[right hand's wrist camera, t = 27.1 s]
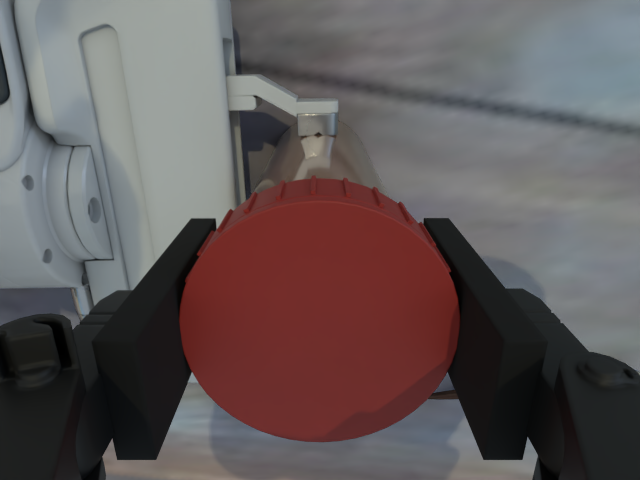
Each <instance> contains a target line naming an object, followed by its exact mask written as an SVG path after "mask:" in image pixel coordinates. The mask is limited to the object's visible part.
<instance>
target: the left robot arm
mask: <svg viewBox="0 0 640 480" xmlns="http://www.w3.org/2000/svg"><path fill="white" fill-rule="evenodd" d="M262 99H263V100H265V101H267V102H269V103H271V104H273V105H275V106H276V107H278V108H280V109H282V110H284V111H286V112H287V113H289V114H291V115H293V116H295V117H297V119H298V136H313V135H315V134H317V133H318V132H319V133H320V134H322V135H327V136H333V135H338V99H335V98H307V99H298V95H296V94H294V93H292V92H291V91H289V90H287V89H285V88H284V87H282V86H280V85H278V84H277V83H275V82H273V81H271V80H270V79H268V78H266V77H264V76H263V75H261V74H246V75H236V65H235V53H234V41H233V28H232V16H231V4H230V0H0V289H2V288H66V287H70V290H71V294H72V298H73V302H74V306H75V309H76V312H77V314H78V316H79V319H80V321H81V320H82V319H83V318H84V317H85V316H86V315H89V312H90V311H91V309H92V308H93V307H94V306H95V305H96V304H97V303H98V302H99V301H100V300H101V299H103V298H105V297H107V296H108V295H110V294H112V293H113V292H115V291H117V290H133V289H134V288H135V287H136V286H137V285H138V283H139V282H140V281H141V280H142V278H143V277H144V276H145V275H146V273H147V272H148V271H149V270H150V268H151V267H152V266H153V265H154V264H155V262H156V261H157V260H158V259H159V257H160V256H161V255H162V254H163V252H164V251H165V250H166V249H167V247H168V246H169V245H170V244H171V243H172V241H173V240H174V239H175V238H176V236H177V235H178V234H179V233H180V231H181V230H182V229H183V228H184V226H185V225H186V224H187V223H188V222H189V220H190V219H191V218H216V227H217V228H218V227H219V225H220V224H221V222H222V220H223V219H224V217H225V215H226V214H227V212H228V211H229V210H230V209H232V210H233V211H234V210H235V209H236V208H237V207H238V206H239V205H241V204H242V203H243V202H245V201H246V189H245V176H244V164H243V152H242V139H241V127H240V115H239V110H254V109H256V108H257V107H258V106H259V105H260V104H261V103H262ZM188 383H198V381H197V380H196V378H195V376H194V374H193V373H191V376H190V378H189V381H188Z"/></svg>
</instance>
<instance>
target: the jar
mask: <svg viewBox="0 0 640 480" xmlns="http://www.w3.org/2000/svg"><path fill="white" fill-rule="evenodd" d="M311 176H316V178H325V179H337V180H343V178H348V181H350V182H353V183H357V184H360V185H363V186H366V187H369V188H371V189H373V187H376V188H378V191H379V192H380V193H382V194H384V195H385V196H387V197H388V198H389V196H388V194H387V192H386V190H385V188H384V186H383V184H382V182H381V180H380V178H379V176H378V174H377V172H376V170H375V168H374V166H373V164H372V162H371V160H370V158H369V156H368V154H367V152H366V150H365V148H364V146H363V144H362V142H361V141H360V139H359V137H358V136H357V135H356V133H355V132H354V131H353V130H352V129H351V128H350V127H348V126H347V125H345V124H344V123H342V122H340V121H338V135H333V136H327V135H322V134H320V133H319V132H318V133H317V134H315V135H313V136H298V123H296V124H294V125H293V126H291V127H290V128H289V129H288V130H287V131H286V132H285V133H284V134H283V135H282V137H281V138H280V140H279V141H278V143H277V145H276V147H275V149H274V151H273V153H272V155H271V157H270V159H269V161H268V163H267V165H266V167H265V169H264V171H263V173H262V175H261V177H260V179H259V181H258V183H257V185H256V187H255V189H254V191H253V192H256V193H257V194H258V193H260V192H262V191H264V190H266V189H268V188H271V187H274V186H276V185H279V184H280V181H282V180H285V183H286V182H291V181H295V180H302V179H311Z"/></svg>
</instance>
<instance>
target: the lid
mask: <svg viewBox="0 0 640 480" xmlns="http://www.w3.org/2000/svg"><path fill="white" fill-rule="evenodd" d="M197 255H198V256H199V258H198V259H197V261H196V263H195V264H194V266H193V268H192V269H191V271H190V272H189V274H188V276H187V277H186V280H185V282H186V285H185V287H184V290H183V294H182V299H181V303H180V312H179V323H180V331H181V339H182V346H183V351H184V355H185V357H186V360H187V362H188V365H189V367H190V369H191V371H192V373H193V374H194V376H195V378H196V380H197V381H198V383H199V384H200V385H201V387H202V388H203V389H204V390H205V392H206V393H207V394H208V395H209V396H210V397H211V398H212V399H213V400H214V401H215V402H216V403H217V404H218V405H219V406H220V407H221V408H223V409H224V410H225V411H226V412H228V413H229V414H230V415H232V416H233V417H235V418H236V419H238V420H240V421H241V422H243V423H245V424H247V425H249V426H251V427H253V428H255V429H257V430H259V431H262V432H265V433H268V434H271V435H274V436H278V437H282V438H286V439H290V440H298V441H306V442H332V441H342V440H348V439H354V438H358V437H362V436H365V435H369V434H372V433H374V432H377V431H379V430H382V429H384V428H387V427H389V426H391V425H392V424H394V423H396V422H398V421H400V420H402V419H403V418H405V417H406V416H407V415H409V414H410V413H412V412H413V411H415V410H416V409H417V408H418V407H419V406H420V405H421V404H423V403H424V402H425V401H426V400H427V399H428V398H429V397H430V395H431V394H432V393H433V392H434V391H435V390H436V389H437V387H438V386H439V384H440V383H441V381H442V380H443V378H444V377H445V375H446V373H447V371H448V369H449V367H450V365H451V363H452V361H453V358H454V355H455V352H456V349H457V343H458V336H459V328H460V308H459V301H458V296H457V293H456V290H455V286H454V283H453V281H452V279H451V277H450V274H449V272H451V270H450V268H449V266H448V265H447V263H446V261H445V260H444V258H443V257H442V255H441V253H440V252H439V250H438V249H437V247H436V244H435V242H434V241H433V239H432V238H431V236H430V234H429V233H428V231H427V230H426V228H425V226H424V225H423V224H422V222H420V223H419V224H418V223H417V221H416V220H415V219H414V218H413V217H412V216H411V215H410V214H409V213H408V212H407V210H406V208H405V206H404V205H403V203H401V202H399V203H396V202H395V201H393V200H392V199H390V198H388V197H387V196H385V195H384V194H382V193H380V192H379V191H378V188H376V187H373V189H371V188H369V187H366V186H363V185H360V184H357V183H353V182H350V181H348V178H343V180H337V179H325V178H316V176H311V179H302V180H295V181H291V182H286V183H285V180H282V181H280V184H279V185H276V186H274V187H271V188H268V189H266V190H264V191H262V192H260V193H258V194H257V193H256V192H253V193H252V194H251V196H250V198H249V199H248V200H246V201H245V202H243V203H242V204H241V205H239V206H238V207H237V208H236V209H235V210H234V211H233V210H232V209H230V210H229V211H228V212H227V214H226V215H225V217H224V219H223V220H222V222H221V224H220V225H219V227H218V228H217V230H216V231H215V232H214V231H211V233H210V234H209V236H208V237H207V239H206V241H205V242H204V244H203V245H202V247H201V249H200V250H199V252H198V253H197Z"/></svg>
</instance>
